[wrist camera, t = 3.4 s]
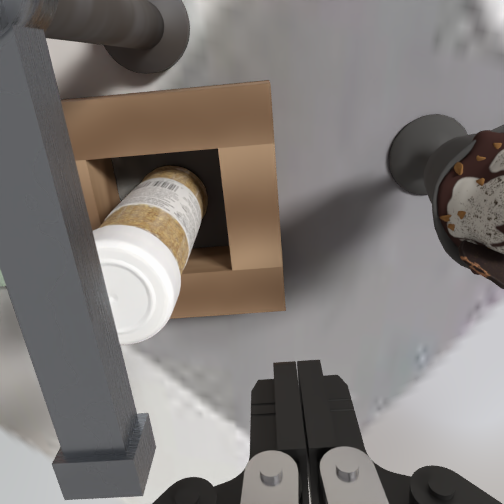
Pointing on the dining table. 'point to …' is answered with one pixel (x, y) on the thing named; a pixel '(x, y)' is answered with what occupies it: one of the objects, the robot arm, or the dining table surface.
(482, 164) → the sundae
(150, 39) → the walnut dock
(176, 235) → the sprinkles bottle
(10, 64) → the bar
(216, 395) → the dining table surface
